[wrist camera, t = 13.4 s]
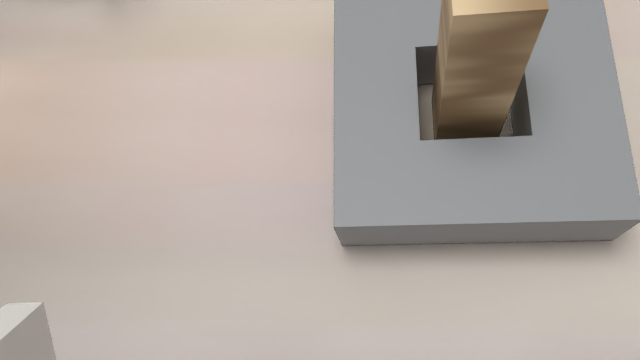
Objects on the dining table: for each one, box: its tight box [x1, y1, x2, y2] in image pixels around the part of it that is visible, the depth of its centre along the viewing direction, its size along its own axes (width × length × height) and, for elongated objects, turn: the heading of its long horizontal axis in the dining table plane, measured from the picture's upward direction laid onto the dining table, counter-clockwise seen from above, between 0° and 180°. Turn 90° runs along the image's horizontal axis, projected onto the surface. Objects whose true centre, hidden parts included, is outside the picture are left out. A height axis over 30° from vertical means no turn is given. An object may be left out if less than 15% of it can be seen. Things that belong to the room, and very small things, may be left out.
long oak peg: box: [432, 0, 549, 140], centre depth 23 cm, size 3×3×11 cm
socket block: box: [334, 0, 640, 246], centre depth 26 cm, size 12×12×4 cm
